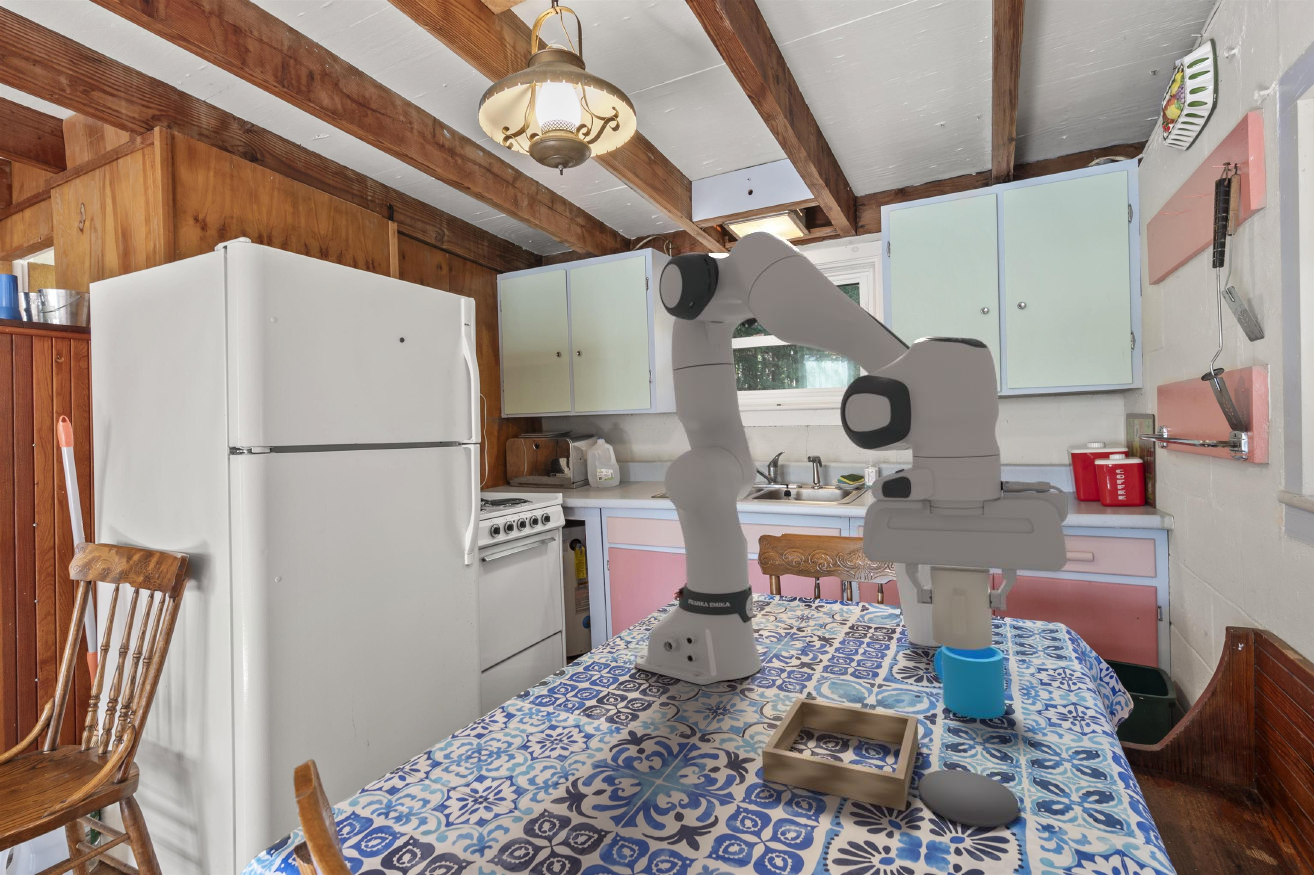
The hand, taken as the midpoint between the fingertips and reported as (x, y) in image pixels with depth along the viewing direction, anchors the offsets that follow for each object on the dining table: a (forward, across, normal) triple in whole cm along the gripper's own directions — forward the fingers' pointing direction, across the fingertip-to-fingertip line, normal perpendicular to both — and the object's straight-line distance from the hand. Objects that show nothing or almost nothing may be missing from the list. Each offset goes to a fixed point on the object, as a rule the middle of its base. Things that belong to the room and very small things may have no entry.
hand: (960, 605), depth 71 cm
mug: (+22, +1, -27) cm, 35 cm away
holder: (+22, +14, -3) cm, 26 cm away
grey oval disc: (+22, 0, 0) cm, 22 cm away
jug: (+4, 0, +1) cm, 4 cm away
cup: (+22, +8, -53) cm, 58 cm away
